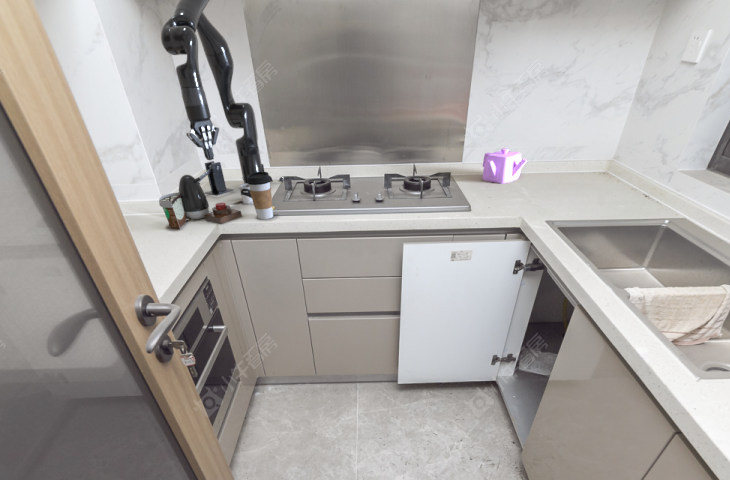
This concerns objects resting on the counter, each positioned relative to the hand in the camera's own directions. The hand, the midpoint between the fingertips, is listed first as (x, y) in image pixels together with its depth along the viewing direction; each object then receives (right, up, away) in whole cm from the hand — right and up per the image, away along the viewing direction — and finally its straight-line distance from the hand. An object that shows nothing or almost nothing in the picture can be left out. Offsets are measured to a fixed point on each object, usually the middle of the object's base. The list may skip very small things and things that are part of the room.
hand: (210, 159), depth 152 cm
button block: (+2, -18, +8) cm, 20 cm away
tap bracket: (-9, +3, +36) cm, 37 cm away
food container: (-14, -23, +4) cm, 27 cm away
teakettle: (+117, +10, +38) cm, 124 cm away
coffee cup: (+18, -18, +8) cm, 27 cm away
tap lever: (-12, +7, +28) cm, 31 cm away
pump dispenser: (-8, -17, +10) cm, 22 cm away
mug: (+10, -6, +24) cm, 26 cm away
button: (+2, -16, +6) cm, 17 cm away
